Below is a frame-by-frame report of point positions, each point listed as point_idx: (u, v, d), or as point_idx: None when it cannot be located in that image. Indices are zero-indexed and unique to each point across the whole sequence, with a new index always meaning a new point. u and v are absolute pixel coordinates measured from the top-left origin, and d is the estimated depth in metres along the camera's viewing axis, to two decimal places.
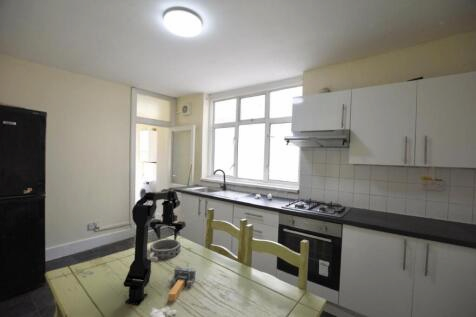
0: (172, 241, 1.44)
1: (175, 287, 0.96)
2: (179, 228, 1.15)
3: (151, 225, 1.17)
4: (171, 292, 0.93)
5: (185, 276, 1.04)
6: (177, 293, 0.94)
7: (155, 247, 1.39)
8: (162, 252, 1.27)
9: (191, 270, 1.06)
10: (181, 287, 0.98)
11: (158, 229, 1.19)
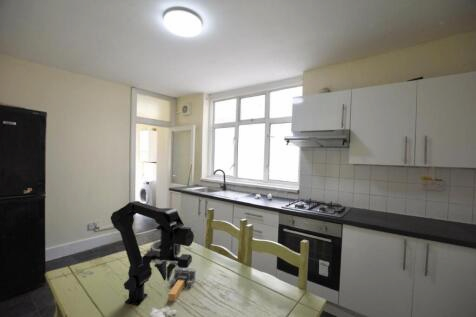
0: None
1: (175, 287, 0.96)
2: (184, 266, 0.82)
3: (144, 261, 0.84)
4: (171, 292, 0.93)
5: (185, 276, 1.04)
6: (177, 293, 0.94)
7: (155, 247, 1.39)
8: None
9: (191, 270, 1.06)
10: (181, 287, 0.98)
11: (163, 266, 0.85)
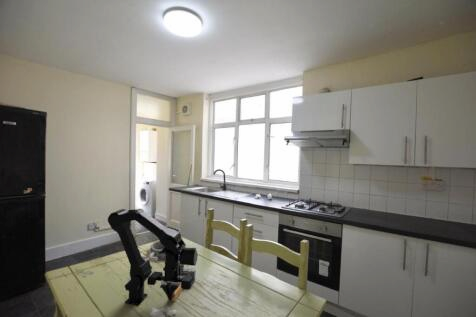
0: None
1: None
2: (187, 287, 0.86)
3: (149, 282, 0.88)
4: None
5: None
6: (177, 293, 0.94)
7: (155, 247, 1.39)
8: None
9: (191, 270, 1.06)
10: None
11: (169, 287, 0.90)
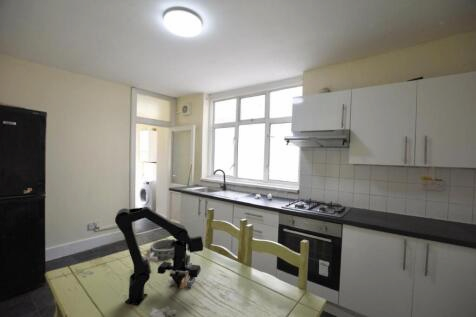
0: None
1: None
2: (194, 275, 0.95)
3: (160, 271, 0.97)
4: None
5: (189, 266, 1.13)
6: (184, 281, 1.03)
7: (155, 247, 1.39)
8: (162, 252, 1.27)
9: None
10: (186, 276, 1.07)
11: (177, 276, 0.98)
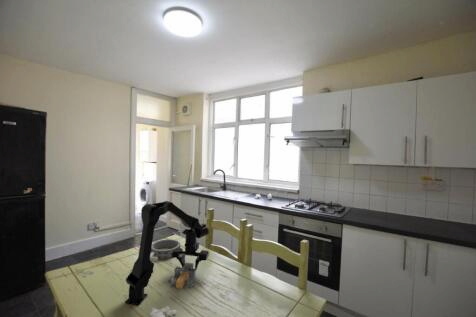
0: (172, 241, 1.44)
1: (181, 276, 1.05)
2: (203, 259, 1.10)
3: (173, 255, 1.12)
4: (178, 280, 1.01)
5: (190, 266, 1.12)
6: (184, 281, 1.03)
7: (155, 247, 1.39)
8: (162, 252, 1.27)
9: (191, 270, 1.06)
10: (187, 276, 1.07)
11: (183, 259, 1.14)
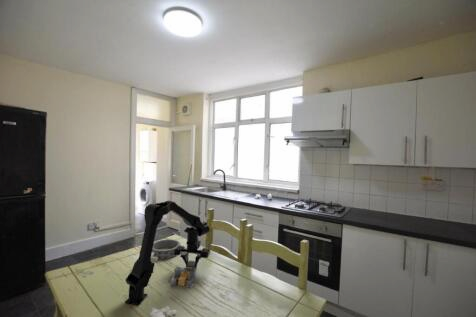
0: (172, 241, 1.44)
1: (184, 273, 1.07)
2: (205, 256, 1.12)
3: (176, 253, 1.14)
4: (181, 277, 1.03)
5: (193, 264, 1.14)
6: (186, 278, 1.05)
7: (155, 247, 1.39)
8: (162, 252, 1.27)
9: (191, 270, 1.06)
10: (189, 274, 1.09)
11: (186, 257, 1.16)
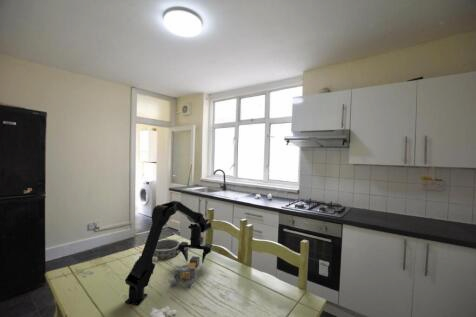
0: (172, 241, 1.44)
1: None
2: (207, 251, 1.18)
3: (180, 248, 1.20)
4: None
5: (196, 259, 1.20)
6: None
7: None
8: (162, 252, 1.27)
9: (191, 270, 1.06)
10: (193, 268, 1.15)
11: (186, 252, 1.22)
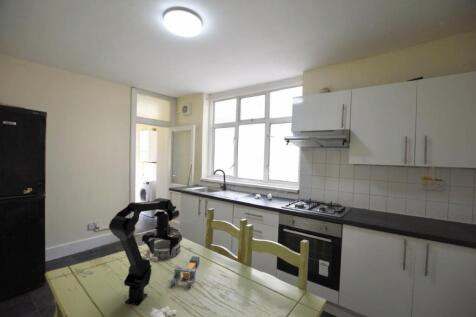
0: None
1: None
2: (175, 242, 1.03)
3: (144, 239, 1.05)
4: None
5: (196, 259, 1.20)
6: None
7: (155, 247, 1.39)
8: (162, 252, 1.27)
9: (191, 270, 1.06)
10: (193, 268, 1.15)
11: (152, 243, 1.07)
